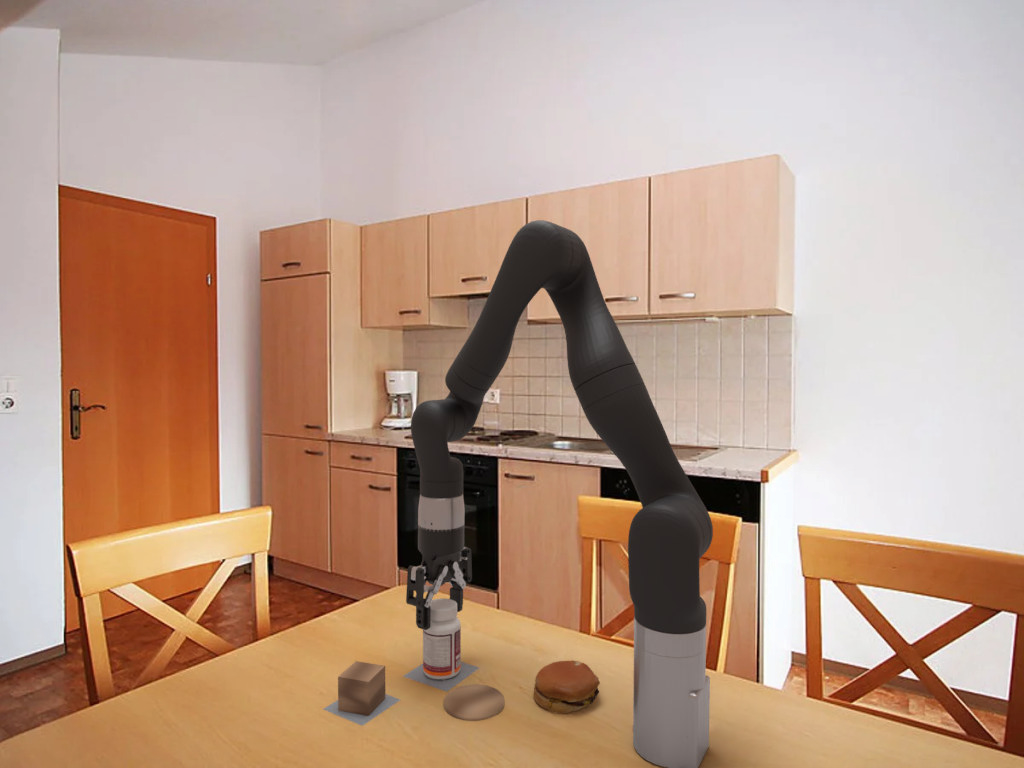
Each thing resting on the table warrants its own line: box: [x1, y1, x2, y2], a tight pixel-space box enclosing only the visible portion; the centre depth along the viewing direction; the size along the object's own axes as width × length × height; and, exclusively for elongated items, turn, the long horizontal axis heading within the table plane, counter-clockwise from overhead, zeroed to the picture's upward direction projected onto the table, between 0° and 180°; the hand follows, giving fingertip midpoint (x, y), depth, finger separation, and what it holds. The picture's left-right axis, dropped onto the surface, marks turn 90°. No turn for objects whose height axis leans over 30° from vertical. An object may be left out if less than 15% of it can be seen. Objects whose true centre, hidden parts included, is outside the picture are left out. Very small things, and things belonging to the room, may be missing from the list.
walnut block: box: [337, 660, 386, 716], centre depth 94 cm, size 5×5×5 cm
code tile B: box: [323, 693, 401, 726], centre depth 94 cm, size 8×8×1 cm
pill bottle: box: [422, 598, 462, 680], centre depth 104 cm, size 6×6×11 cm
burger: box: [533, 660, 601, 715], centre depth 96 cm, size 10×9×5 cm
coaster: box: [443, 683, 505, 722], centre depth 94 cm, size 9×9×1 cm
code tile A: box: [402, 661, 480, 693], centre depth 104 cm, size 9×9×1 cm
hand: (440, 619), depth 104 cm, fingers open, 8 cm apart
